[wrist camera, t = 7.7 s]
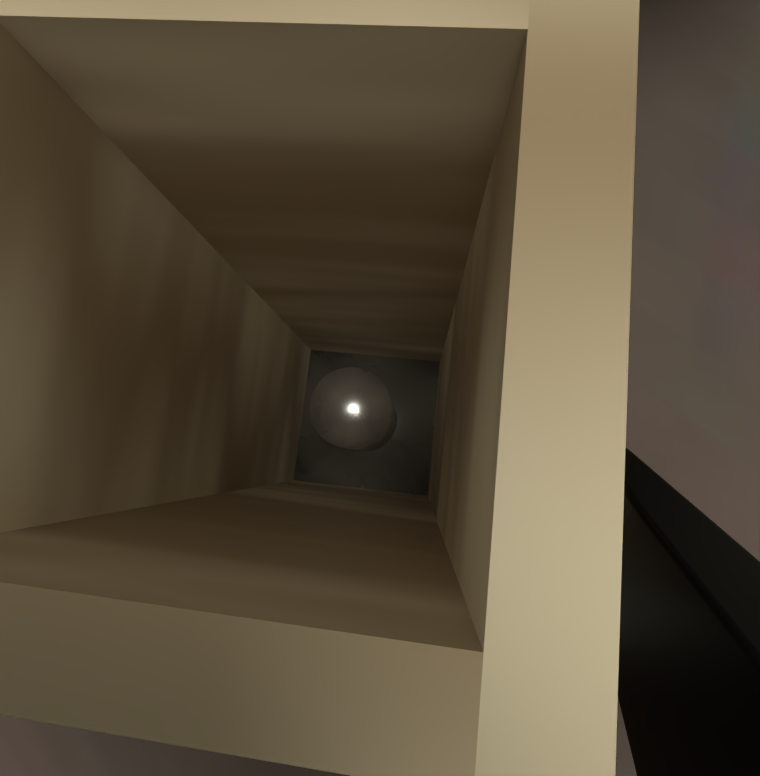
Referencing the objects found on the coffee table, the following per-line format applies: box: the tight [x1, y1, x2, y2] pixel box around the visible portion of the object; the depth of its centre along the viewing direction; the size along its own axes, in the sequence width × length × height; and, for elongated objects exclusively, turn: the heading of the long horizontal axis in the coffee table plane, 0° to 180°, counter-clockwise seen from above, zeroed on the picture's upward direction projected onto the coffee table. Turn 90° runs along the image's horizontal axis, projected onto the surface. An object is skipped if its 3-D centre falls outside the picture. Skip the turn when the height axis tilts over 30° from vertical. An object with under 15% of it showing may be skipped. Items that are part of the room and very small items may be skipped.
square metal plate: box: [293, 350, 440, 496], centre depth 14 cm, size 14×14×6 cm
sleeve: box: [0, 0, 640, 776], centre depth 9 cm, size 6×6×12 cm
